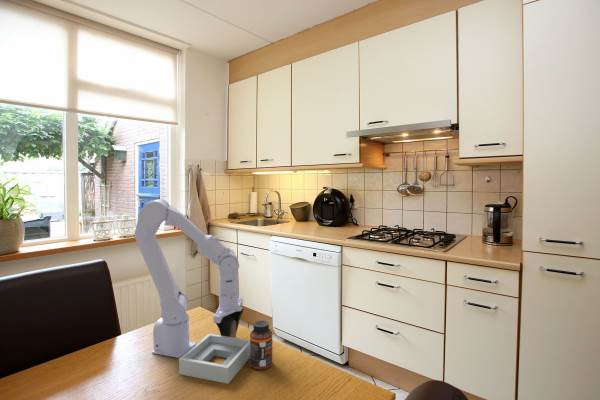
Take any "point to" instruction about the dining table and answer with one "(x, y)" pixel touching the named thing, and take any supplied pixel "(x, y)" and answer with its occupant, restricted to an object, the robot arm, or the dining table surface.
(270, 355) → the supplement bottle
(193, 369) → the bore box
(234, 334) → the peg
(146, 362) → the dining table surface
